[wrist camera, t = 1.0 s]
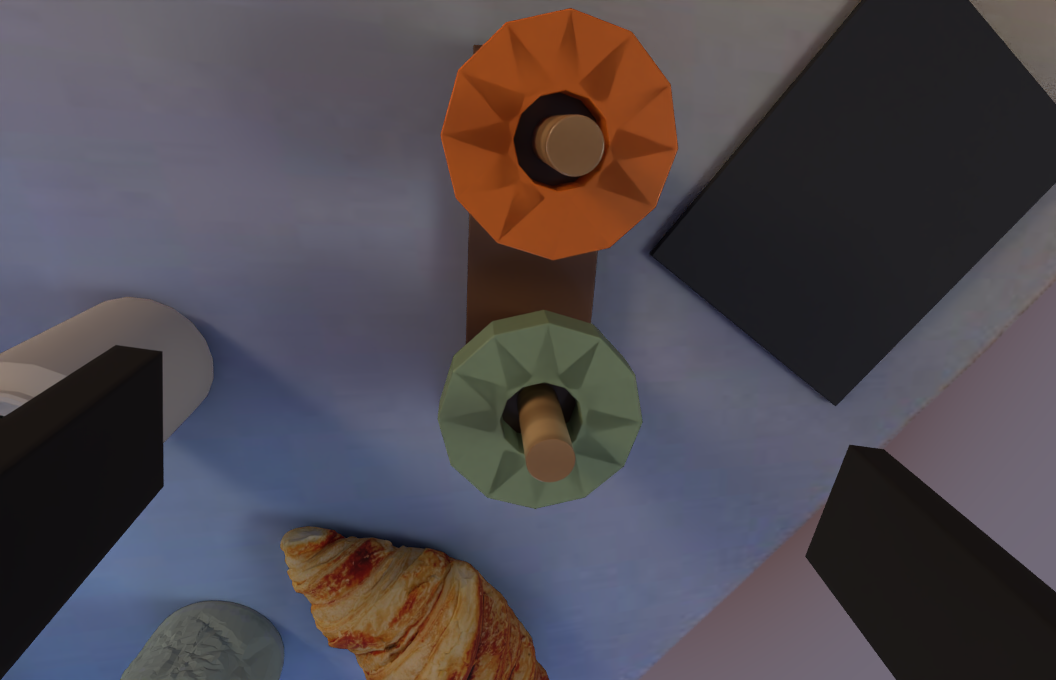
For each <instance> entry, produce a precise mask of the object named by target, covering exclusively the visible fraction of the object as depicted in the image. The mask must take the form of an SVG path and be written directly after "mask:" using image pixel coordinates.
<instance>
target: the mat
mask: <svg viewBox="0 0 1056 680" xmlns="http://www.w3.org/2000/svg"><path fill="white" fill-rule="evenodd" d="M1055 183H1056V104H1055V103H1054V101H1053V100H1052V99H1051V98H1050V97H1049V96H1048V94H1047V93H1046V92H1045V91H1044V90H1043V88H1042V87H1041V86H1040V85H1039V84H1038V82H1037V81H1036V80H1035V79H1034V78H1033V76H1032V75H1031V74H1030V73H1029V72H1028V70H1027V69H1026V68H1025V67H1024V66H1023V64H1022V63H1021V62H1020V61H1019V60H1018V59H1017V57H1016V56H1015V55H1014V54H1013V53H1012V51H1011V50H1010V49H1009V48H1008V47H1007V45H1006V44H1005V43H1004V42H1003V41H1002V39H1001V38H1000V37H999V36H998V35H997V33H996V32H995V31H994V30H993V29H992V28H991V26H990V25H989V24H988V23H987V22H986V20H985V19H984V18H983V17H982V16H981V14H980V13H979V12H978V11H977V10H976V8H975V7H974V6H973V5H972V4H971V2H970V1H969V0H862V1H861V2H860V3H859V5H858V6H857V7H856V8H855V9H854V11H853V12H852V13H851V14H850V15H849V17H848V18H847V19H846V20H845V21H844V22H843V24H842V25H841V26H840V27H839V28H838V30H837V31H836V32H835V33H834V34H833V36H832V37H831V38H830V39H829V40H828V42H827V43H826V44H825V45H824V46H823V48H822V49H821V50H820V51H819V52H818V54H817V55H816V56H815V57H814V58H813V59H812V61H811V62H810V63H809V64H808V65H807V67H806V68H805V69H804V70H803V71H802V73H801V74H800V75H799V76H798V77H797V79H796V80H795V81H794V82H793V83H792V85H791V86H790V87H789V88H788V89H787V91H786V92H785V93H784V94H783V95H782V96H781V98H780V99H779V100H778V101H777V102H776V104H775V105H774V106H773V107H772V108H771V110H770V111H769V112H768V113H767V114H766V116H765V117H764V118H763V119H762V120H761V122H760V123H759V124H758V125H757V126H756V128H755V129H754V130H753V131H752V132H751V133H750V135H749V136H748V137H747V138H746V139H745V141H744V142H743V143H742V144H741V145H740V147H739V148H738V149H737V150H736V151H735V153H734V154H733V155H732V156H731V157H730V159H729V160H728V161H727V162H726V163H725V165H724V166H723V167H722V168H721V169H720V170H719V172H718V173H717V174H716V175H715V176H714V178H713V179H712V180H711V181H710V182H709V184H708V185H707V186H706V187H705V188H704V190H703V191H702V192H701V193H700V194H699V196H698V197H697V198H696V199H695V200H694V202H693V203H692V204H691V205H690V206H689V207H688V209H687V210H686V211H685V212H684V213H683V215H682V216H681V217H680V218H679V219H678V221H677V222H676V223H675V224H674V225H673V227H672V228H671V229H670V230H669V231H668V233H667V234H666V235H665V236H664V237H663V239H662V240H661V241H660V242H659V243H658V244H657V246H656V247H655V248H654V249H653V250H652V252H651V253H650V255H652V256H653V257H654V258H655V259H656V260H658V261H659V262H660V263H661V264H663V265H664V266H665V267H666V268H667V269H669V270H670V271H671V272H672V273H674V274H675V275H676V276H677V277H678V278H680V279H681V280H682V281H683V282H685V283H686V284H687V285H688V286H689V287H691V288H692V289H693V290H694V291H696V292H697V293H698V294H699V295H700V296H702V297H703V298H704V299H705V300H706V301H708V302H709V303H710V304H711V305H713V306H714V307H715V308H716V309H717V310H719V311H720V312H721V313H722V314H724V315H725V316H726V317H727V318H728V319H730V320H731V321H732V322H733V323H735V324H736V325H737V326H738V327H739V328H741V329H742V330H743V331H744V332H746V333H747V334H748V335H749V336H750V337H752V338H753V339H754V340H755V341H757V342H758V343H759V344H760V345H761V346H763V347H764V348H765V349H766V350H767V351H769V352H770V353H771V354H772V355H774V356H775V357H776V358H777V359H778V360H780V361H781V362H782V363H783V364H785V365H786V366H787V367H788V368H789V369H791V370H792V371H793V372H794V373H796V374H797V375H798V376H799V377H800V378H802V379H803V380H804V381H805V382H807V383H808V384H809V385H810V386H811V387H813V388H814V389H815V390H816V391H817V392H819V393H820V394H821V395H822V396H824V397H825V398H826V399H827V400H828V401H830V402H831V403H832V404H833V405H835V406H836V405H837V404H838V403H839V402H840V401H841V400H842V399H843V398H844V397H845V396H846V395H847V394H848V393H849V392H850V391H851V390H852V389H853V388H854V387H855V386H856V385H857V384H858V383H859V382H860V381H861V380H862V379H863V378H864V377H865V376H866V375H867V374H868V373H869V372H870V371H871V370H872V369H873V368H874V367H875V366H876V365H877V364H878V363H879V362H880V361H881V360H882V359H883V358H884V357H885V356H886V355H887V354H888V353H889V352H890V351H891V350H892V349H893V348H894V346H895V345H896V344H897V343H898V342H899V341H900V340H901V339H902V338H903V337H904V336H905V335H906V334H907V333H908V332H909V331H910V330H911V329H912V328H913V327H914V326H915V325H916V324H917V323H918V322H919V321H920V320H921V319H922V318H923V317H924V316H925V315H926V314H927V313H928V312H929V311H930V310H931V309H932V308H933V307H934V306H935V305H936V304H937V303H938V302H939V301H940V300H941V299H942V298H943V297H944V296H945V295H946V294H947V293H948V292H949V291H950V290H951V289H952V288H953V287H954V286H955V285H956V283H957V282H958V281H959V280H960V279H961V278H962V277H963V276H964V275H965V274H966V273H967V272H968V271H969V270H970V269H971V268H972V267H973V266H974V265H975V264H976V263H977V262H978V261H979V260H980V259H981V258H982V257H983V256H984V255H985V254H986V253H987V252H988V251H989V250H990V249H991V248H992V247H993V246H994V245H995V244H996V243H997V242H998V241H999V240H1000V239H1001V238H1002V237H1003V236H1004V235H1005V234H1006V233H1007V232H1008V231H1009V230H1010V229H1011V228H1012V227H1013V226H1014V225H1015V224H1016V223H1017V222H1018V221H1019V219H1020V218H1021V217H1022V216H1023V215H1024V214H1025V213H1026V212H1027V211H1028V210H1029V209H1030V208H1031V207H1032V206H1033V205H1034V204H1035V203H1036V202H1037V201H1038V200H1039V199H1040V198H1041V197H1042V196H1043V195H1044V194H1045V193H1046V192H1047V191H1048V190H1049V189H1050V188H1051V187H1052V186H1053V185H1054V184H1055Z"/></svg>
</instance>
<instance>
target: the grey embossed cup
mask: <svg viewBox="0 0 1056 680" xmlns="http://www.w3.org/2000/svg"><path fill="white" fill-rule="evenodd" d="M283 663H284V646H283V643H282V639H281V636H280V634H279V633H278V631H277V630H276V628H275V627H274V626H273V625H272V623H271V622H270V621H269V620H268V619H266V618H265V617H264V616H262V615H261V614H259V613H258V612H256V611H255V610H253V609H251V608H248V607H246V606H243V605H239V604H236V603H232V602H224V601H206V602H199V603H194V604H191V605H188V606H186V607H183V608H181V609H179V610H177V611H176V612H174V613H173V614H172V615H170V616H169V617H168V618H167V619H165V621H164V622H163V623H162V624H161V625H160V626H159V627H158V628H157V630H156V631H155V632H154V633H153V635H152V636H151V637H150V639H149V640H148V642H147V643H146V644H145V646H144V647H143V649H142V650H141V651H140V653H139V654H138V656H137V657H136V658H135V659H134V660H133V661H132V662H131V664H130V665H129V667H128V668H127V669H126V670H125V671H124V673H123V674H122V677H121V679H120V680H279V678H280V675H281V671H282V667H283Z"/></svg>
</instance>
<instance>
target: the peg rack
mask: <svg viewBox="0 0 1056 680" xmlns="http://www.w3.org/2000/svg"><path fill="white" fill-rule="evenodd" d="M482 46H483V45H474V47H473V55H474V54H475V53H476V52H477V51H478V50H479V49H480V48H481V47H482ZM514 144H515V149H516V154H517V158H518V163H519V166H520V167H521V168H522V169H523V170H524V171H525V173H526V174H527V175H528V176H529V177H530V178H531V179H532V180H535V181H538V182H541V183H544V184H547V185H550V186H556V185H560V184H565V183H569V182H574V181H576V180H577V179H578V178H579V177H580V176H582V175H585V174H587V173H589V172H591V171H592V170H593V169H594V168H595V167H596V166H597V165H598V164H599V162H600V161H601V159H602V156H603V153H604V147H605V142H604V136H603V133H602V131H601V129H600V127H599V126H598V125H597V124H596V119H595V118H594V116H593V115H592V114H591V112H590V111H589V110H588V109H587V107H586V106H585V105H584V104H583V102H582V101H581V100H578V99H576V98H573V97H570V96H567V95H565V94H562V93H559V92H558V93H554V94H549V95H545V96H540V97H539V98H538V99H537V100H536V101H535V102H534V103H533V104H531V105H530V106H529V107H528V108H527V109H526V110H525V111H524V112H523V113H522V114H521V117H520V120H519V123H518V127H517V130H516V133H515V136H514ZM597 254H598V250H597V251H593V252H588V253H584V254H579V255H575V256H571V257H566V258H562V259H557V260H550V259H547V258H544V257H541V256H538V255H534V254H531V253H528V252H525V251H521V250H518V249H515V248H512V247H509V246H505V245H502V244H499V243H497V242H496V241H495V240H494V239H493V238H492V237H491V236H490V235H489V234H488V232H487V231H486V230H485V229H484V228H483V227H482V226H481V225H480V224H479V223H478V222H477V221H476V219H475V218H474V217H473V216H472V215H471V214H470V213H469V242H468V281H467V320H466V344H467V343H468V342H470V341H471V340H472V339H473V338H474V337H475V336H476V335H477V334H479V333H480V332H481V331H482V330H483V329H484V328H485V327H486V326H488V325H489V324H490V323H491V322H492V321H496V320H500V319H504V318H509V317H513V316H518V315H522V314H527V313H531V312H536V311H540V310H547V311H550V312H554V313H557V314H560V315H564V316H567V317H571V318H574V319H577V320H581V321H584V322H587V323H591V317H592V307H593V296H594V285H595V275H596V264H597ZM575 405H576V401H575V398H574V397H573V396H572V395H571V394H570V393H569V392H568V391H567V390H566V389H565V388H563V387H560V386H556V385H552V384H549V383H545V382H544V383H539V384H535V385H531V386H526V387H522V388H521V389H520V390H519V391H518V392H517V393H515V394H514V395H513V396H512V397H511V398H510V399H508V400H507V402H506V405H505V408H504V411H503V414H502V417H503V420H504V421H505V422H506V423H507V424H508V425H509V426H510V427H511V428H512V429H513V430H514V431H515V432H517V433H521V435H522V441H523V448H524V454H525V461H526V467H527V469H528V471H529V473H530V474H531V475H532V476H533V477H534V478H536V479H537V480H540V481H542V482H556V481H559V480H562V479H564V478H565V477H567V476H568V475H569V474H570V473H571V471H572V470H573V468H574V465H575V461H576V457H575V452H574V449H573V446H572V442H571V439H570V436H569V433H568V429H567V426H566V423H567V422H568V421H569V420H570V418H571V415H572V413H573V410H574V407H575Z"/></svg>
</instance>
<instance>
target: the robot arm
mask: <svg viewBox="0 0 1056 680" xmlns="http://www.w3.org/2000/svg"><path fill="white" fill-rule="evenodd" d="M163 486H164V482H163V351H157V350H149V349H142V348H135V347H127V346H120V345H115V346H113V347H112V348H110V349H109V350H107V351H106V352H104V353H102V354H101V355H99V356H98V357H96V358H95V359H93V360H91V361H90V362H88V363H87V364H85V365H84V366H82V367H81V368H79V369H77V370H76V371H74V372H73V373H71V374H70V375H68V376H67V377H65V378H63V379H62V380H60V381H59V382H57V383H56V384H54V385H53V386H51V387H49V388H48V389H46V390H45V391H43V392H42V393H40V394H39V395H37V396H35V397H34V398H32V399H31V400H29V401H28V402H26V403H24V404H23V405H21V406H20V407H18V408H17V409H15V410H14V411H12V412H10V413H9V414H7V415H6V416H4V417H3V418H1V419H0V680H1V679H2V678H3V676H4V675H5V674H6V673H7V672H8V670H9V669H10V668H11V667H12V666H13V665H14V663H15V662H16V661H17V660H18V659H19V657H20V656H21V655H22V654H23V653H24V651H25V650H26V649H27V648H28V647H29V646H30V644H31V643H32V642H33V641H34V640H35V638H36V637H37V636H38V635H39V634H40V632H41V631H42V630H43V629H44V628H45V626H46V625H47V624H48V623H49V622H50V621H51V619H52V618H53V617H54V616H55V615H56V613H57V612H58V611H59V610H60V609H61V607H62V606H63V605H64V604H65V603H66V602H67V600H68V599H69V598H70V597H71V596H72V594H73V593H74V592H75V591H76V590H77V588H78V587H79V586H80V585H81V584H82V583H83V581H84V580H85V579H86V578H87V577H88V575H89V574H90V573H91V572H92V571H93V569H94V568H95V567H96V566H97V565H98V564H99V562H100V561H101V560H102V559H103V558H104V556H105V555H106V554H107V553H108V552H109V550H110V549H111V548H112V547H113V546H114V544H115V543H116V542H117V541H118V540H119V539H120V537H121V536H122V535H123V534H124V533H125V531H126V530H127V529H128V528H129V527H130V525H131V524H132V523H133V522H134V521H135V520H136V518H137V517H138V516H139V515H140V514H141V512H142V511H143V510H144V509H145V508H146V506H147V505H148V504H149V503H150V502H151V501H152V499H153V498H154V497H155V496H156V495H157V493H158V492H159V491H160V490H161V489H162V487H163ZM806 558H807V559H808V561H809V562H810V563H811V565H812V566H813V568H814V569H815V570H816V572H817V573H818V574H819V576H820V577H821V578H822V580H823V581H824V582H825V584H826V585H827V586H828V588H829V589H830V590H831V592H832V593H833V595H834V596H835V597H836V599H837V600H838V601H839V603H840V604H841V606H842V607H843V608H844V610H845V611H846V612H847V614H848V615H849V616H850V618H851V619H852V620H853V622H854V623H855V625H856V626H857V627H858V628H859V630H860V631H861V633H862V634H863V635H864V637H865V638H866V639H867V641H868V642H869V643H870V645H871V646H872V647H873V649H874V650H875V652H876V653H877V654H878V656H879V657H880V658H881V660H882V661H883V662H884V664H885V665H886V667H887V668H888V669H889V671H890V672H891V673H892V675H893V676H894V677H895V679H896V680H1056V592H1055V591H1054V590H1053V589H1051V588H1050V587H1049V586H1048V585H1046V584H1045V583H1044V582H1043V581H1042V580H1041V579H1039V578H1038V577H1037V576H1036V575H1034V574H1033V573H1032V572H1031V571H1030V570H1029V569H1027V568H1026V567H1025V566H1024V565H1022V564H1021V563H1020V562H1019V561H1018V560H1016V559H1015V558H1014V557H1013V556H1012V555H1010V554H1009V553H1008V552H1007V551H1006V550H1004V549H1003V548H1002V547H1001V546H1000V545H998V544H997V543H996V542H995V541H993V540H992V539H991V538H990V537H989V536H988V535H986V534H985V533H984V532H983V531H982V530H980V529H979V528H978V527H977V526H976V525H974V524H973V523H972V522H971V521H969V520H968V519H967V518H966V517H965V516H963V515H962V514H961V513H960V512H959V511H957V510H956V509H955V508H954V507H953V506H951V505H950V504H949V503H948V502H947V501H945V500H944V499H943V498H942V497H941V496H939V495H938V494H937V493H935V491H933V490H932V489H931V488H930V487H928V486H927V485H926V484H925V483H923V481H921V480H920V479H919V478H918V477H917V476H915V475H914V474H913V473H912V472H910V471H909V470H908V469H907V468H906V467H904V466H903V465H902V464H901V463H900V462H898V461H897V460H896V459H894V457H892V456H891V455H890V454H889V453H888V452H886V451H885V450H884V449H877V448H870V447H862V446H855V445H849V447H848V450H847V453H846V455H845V458H844V460H843V463H842V465H841V468H840V470H839V473H838V475H837V478H836V480H835V483H834V485H833V488H832V490H831V493H830V495H829V498H828V500H827V503H826V505H825V508H824V510H823V513H822V515H821V518H820V521H819V523H818V526H817V528H816V531H815V533H814V536H813V538H812V541H811V543H810V546H809V548H808V551H807V553H806Z"/></svg>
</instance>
